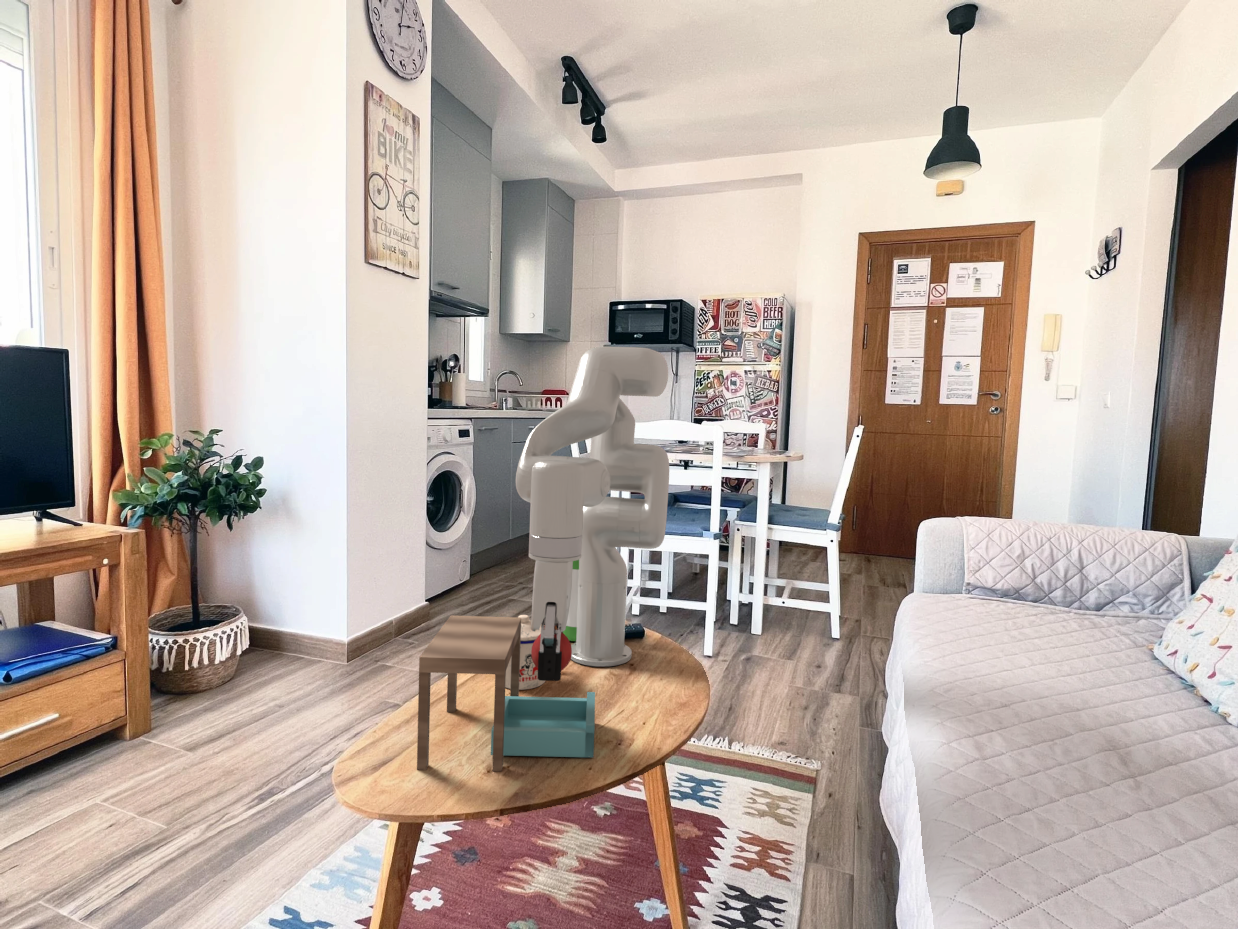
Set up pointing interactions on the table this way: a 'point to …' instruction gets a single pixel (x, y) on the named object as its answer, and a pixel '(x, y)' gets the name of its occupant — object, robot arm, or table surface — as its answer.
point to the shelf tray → (548, 726)
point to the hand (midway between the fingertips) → (550, 669)
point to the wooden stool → (470, 670)
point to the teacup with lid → (526, 658)
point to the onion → (564, 647)
